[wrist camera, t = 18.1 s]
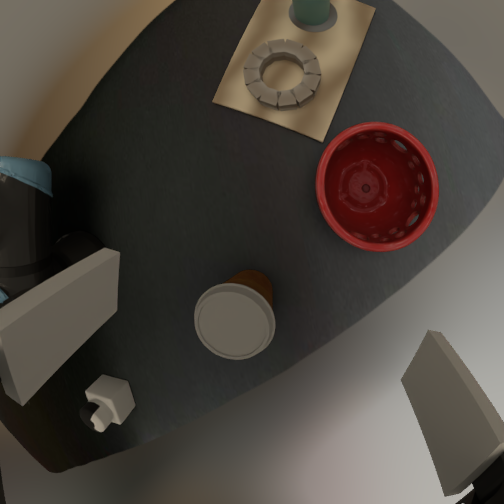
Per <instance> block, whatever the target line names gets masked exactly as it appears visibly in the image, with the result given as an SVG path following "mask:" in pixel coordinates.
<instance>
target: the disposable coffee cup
mask: <svg viewBox="0 0 504 504" xmlns="http://www.w3.org/2000/svg"><path fill="white" fill-rule="evenodd" d="M272 293H273V290H272V285H271V282H270V281H269V279H268V278H267V277H266V276H265V275H264V274H263V273H261V272H259V271H256V270H244V271H241V272H239V273H238V274H236V275H235V276H233V277H232V278H230V279H229V280H227V281H226V282H224V283H223V284H219V285H216V286H214V287H212V288H210V289H208V290H207V291H206V292H205V293H204V294H202V296H201V297H200V299H199V300H198V302H197V304H196V307H195V313H194V318H195V329H196V332H197V335H198V337H199V338H200V340H201V341H202V343H203V344H204V345H205V346H206V347H207V348H208V349H209V350H210V351H212V352H213V353H215V354H217V355H218V356H221V357H224V358H228V359H234V360H241V359H247V358H250V357H252V356H254V355H256V354H258V353H259V352H261V351H262V350H264V349H265V348H266V347H267V346H268V345H269V343H270V342H271V340H272V338H273V336H274V332H275V317H274V313H273V311H272V307H273V306H272V304H273V303H272V302H273V299H272V298H273V296H272V295H273V294H272Z"/></svg>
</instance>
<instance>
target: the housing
mask: <svg viewBox="0 0 504 504" xmlns="http://www.w3.org/2000/svg"><path fill="white" fill-rule="evenodd" d="M375 9H376V8H373V7H371V6H368V5H366V4H363V3H361V2H358V1H355V0H330V9H329V17H328V19H327V21H326V22H324V23H323V24H320V25H315V26H312V25H306V24H303V23H301V22H300V21H299V20H297V18H296V17H295V15H294V9H293V2H292V0H261V2H260V4H259V6H258V8H257V9H256V11H255V13H254V15H253V17H252V19H251V21H250V23H249V25H248V27H247V28H246V30H245V32H244V34H243V36H242V38H241V40H240V42H239V44H238V47H237V49H236V51H235V53H234V55H233V57H232V59H231V61H230V63H229V65H228V68H227V70H226V72H225V74H224V76H223V79H222V81H221V83H220V85H219V88H218V90H217V92H216V94H215V97H214V99H213V101H212V102H213V103H214V104H218V105H221V106H224V107H227V108H230V109H234V110H237V111H240V112H243V113H246V114H249V115H252V116H254V117H257V118H260V119H263V120H266V121H268V122H271V123H274V124H277V125H279V126H282V127H284V128H287V129H290V130H292V131H295V132H297V133H300V134H302V135H305V136H307V137H309V138H312V139H314V140H317V141H319V142H321V143H323V140H324V138H325V135H326V133H327V131H328V128H329V126H330V123H331V121H332V118H333V116H334V114H335V111H336V109H337V106H338V104H339V101H340V99H341V96H342V94H343V91H344V89H345V86H346V84H347V81H348V79H349V76H350V74H351V71H352V69H353V66H354V64H355V61H356V59H357V56H358V54H359V51H360V48H361V46H362V43H363V41H364V38H365V35H366V33H367V30H368V28H369V25H370V22H371V20H372V17H373V15H374V12H375Z"/></svg>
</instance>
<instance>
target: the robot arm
mask: <svg viewBox="0 0 504 504" xmlns="http://www.w3.org/2000/svg"><path fill="white" fill-rule="evenodd" d="M52 197H53V194H52V192H51V169H50V167H49V166H48V165H47V164H46V163H44V162H41V161H37V160H32V159H25V158H17V157H7V156H2V157H1V156H0V381H1V382H2V384H3V387H4V390H5V392H6V394H7V395H8V396H9V397H11V398H12V399H13V400H15V401H16V402H18V403H19V404H20V405H22V406H23V405H24V404H25V403H26V402H27V401H28V400H29V399H30V398H31V397H32V396H33V395H34V393H35V392H36V391H37V390H38V389H39V388H40V387H41V386H42V385H43V384H44V383H45V382H46V381H47V380H48V379H49V378H50V377H51V376H52V375H53V374H54V373H55V371H56V370H57V369H58V368H59V367H60V366H61V365H62V364H63V363H64V362H65V361H66V360H67V359H68V358H69V357H70V356H71V355H72V354H73V353H74V352H75V351H76V350H77V349H78V348H79V347H80V346H81V345H82V344H83V343H84V342H85V341H86V340H87V339H88V338H89V337H90V336H91V335H92V334H93V333H94V332H95V331H96V330H97V329H99V328H100V327H101V326H102V325H103V324H104V323H105V322H106V321H107V320H108V319H109V318H110V317H111V316H112V315H113V314H114V313H115V312H116V311H117V296H118V275H119V259H120V252H117V251H114V250H111V249H108V248H106V247H105V246H104V245H103V244H102V242H101V241H100V240H99V239H98V238H96V237H95V236H94V235H92V234H90V233H88V232H85V231H75V232H71V233H68V234H66V235H64V236H62V237H61V238H60V239H59V240H58V241H57V242H56V243H55V244H54V245H52V246H51V198H52ZM401 381H402V384H403V386H404V388H405V391H406V393H407V395H408V398H409V400H410V403H411V405H412V407H413V410H414V412H415V415H416V417H417V420H418V422H419V425H420V427H421V430H422V433H423V435H424V438H425V440H426V443H427V446H428V448H429V451H430V454H431V457H432V460H433V463H434V465H435V468H436V471H437V474H438V477H439V480H440V483H441V486H442V489H443V493H444V496H450V495H454V494H459V493H461V492H462V491H463V490H464V489H466V488H467V487H468V486H469V485H470V484H471V483H472V484H473V487H474V489H473V490H472V491H470V492H469V493H468V494H467V495H466V496H464V497H463V498H462V499H461V500H460V501H458V502H457V503H456V504H462V503H464V504H504V422H503V421H502V420H501V417H500V416H499V414H498V413H497V411H496V410H495V408H494V406H493V405H492V403H491V402H490V400H489V399H488V397H487V396H486V394H485V393H484V391H483V390H482V389H481V387H480V385H479V384H478V383H477V381H476V380H475V378H474V377H473V375H472V374H471V373H470V371H469V370H468V368H467V367H466V365H465V364H464V363H463V361H462V360H461V359H460V357H459V356H458V354H457V353H456V352H455V350H454V349H453V348H452V346H451V345H450V344H449V342H448V341H447V340H446V339H445V337H444V336H443V335H442V333H441V332H436V331H431V330H428V331H427V333H426V336H425V337H424V339H423V341H422V343H421V345H420V347H419V349H418V351H417V352H416V355H415V356H414V358H413V360H412V361H411V363H410V365H409V367H408V368H407V370H406V372H405V373H404V375H403V377H402V379H401ZM0 504H6V501H5V497H4V490H3V484H2V477H1V469H0Z"/></svg>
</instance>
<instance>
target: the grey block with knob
mask: <svg viewBox="0 0 504 504" xmlns="http://www.w3.org/2000/svg"><path fill="white" fill-rule="evenodd" d="M85 393H86V395H87V398H88V400H89V401H88V402H87V403H86V404H85V405H84V406H83V407H82V409H81V410H80V417H81V419H82V420H83V422H84V423H85V424H86V425H87V426H88V427H89V428H91V429H92V430H94V431H97V432H103V431H104V430H105V429H106V427H107V426H108V425H109V424H110V423H111V422H114V423H117V424H122V422H123V421H124V420H125V419H126V417H127V416H128V415H129V413H130V412H131V411H132V410H133V408H134V407H135V402H134V398H133V395H132V392H131V389H130V386H129V383H128V381H126V380H122V379H118V378H114V377H111V376H107V375H101V376H100V377H99V378H98V379H97V380H96V381H95V382H94V383H93V384H92V385H91V386H90V387H89V388H88V389H87V390H86V391H85Z"/></svg>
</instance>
